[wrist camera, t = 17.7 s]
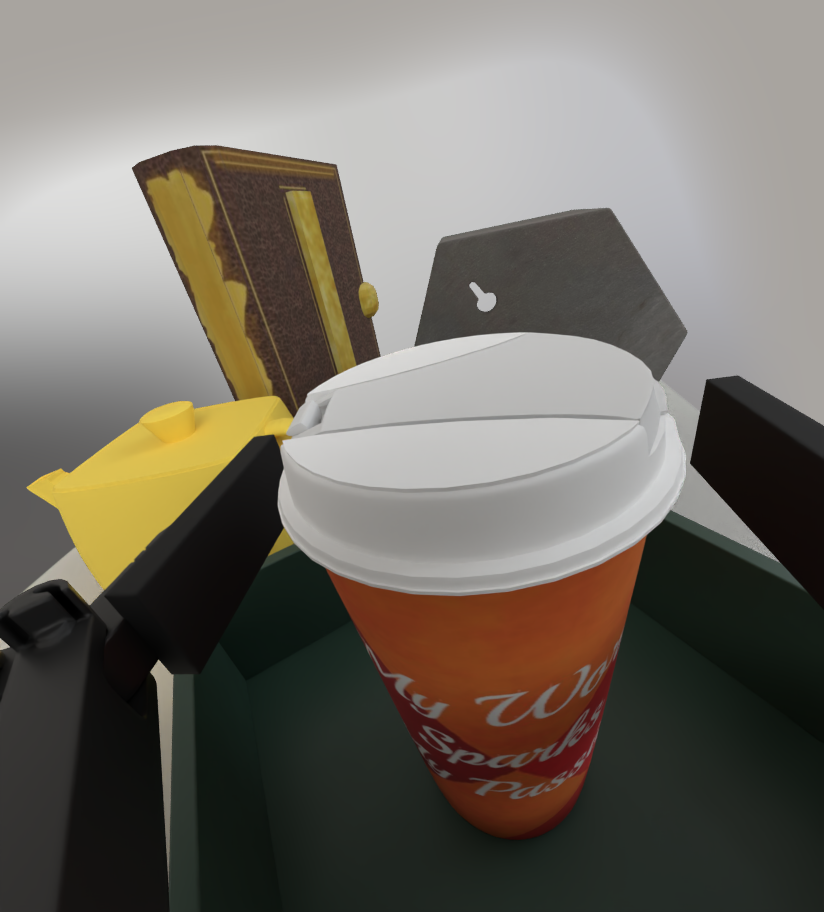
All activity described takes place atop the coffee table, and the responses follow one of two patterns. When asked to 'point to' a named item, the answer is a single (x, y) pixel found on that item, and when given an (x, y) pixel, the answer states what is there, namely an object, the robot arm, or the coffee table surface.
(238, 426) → the teapot
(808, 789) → the bin
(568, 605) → the coffee cup
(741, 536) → the coffee table surface
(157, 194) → the book
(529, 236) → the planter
